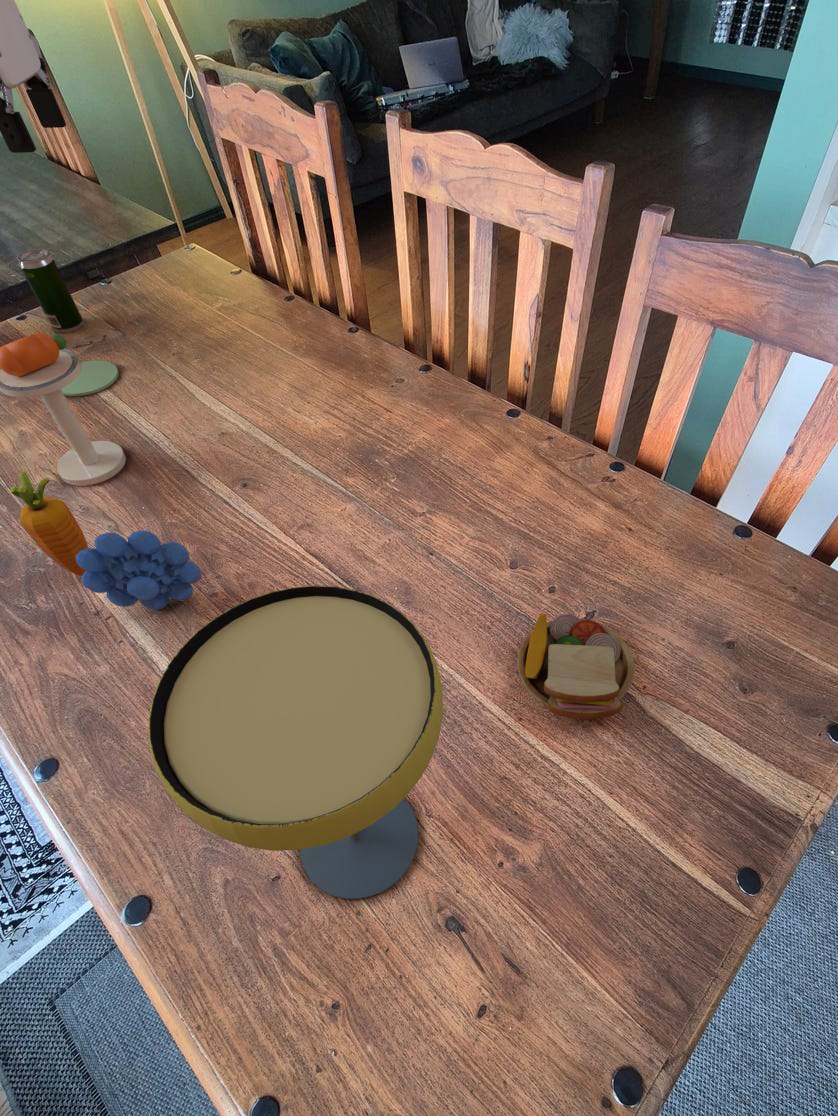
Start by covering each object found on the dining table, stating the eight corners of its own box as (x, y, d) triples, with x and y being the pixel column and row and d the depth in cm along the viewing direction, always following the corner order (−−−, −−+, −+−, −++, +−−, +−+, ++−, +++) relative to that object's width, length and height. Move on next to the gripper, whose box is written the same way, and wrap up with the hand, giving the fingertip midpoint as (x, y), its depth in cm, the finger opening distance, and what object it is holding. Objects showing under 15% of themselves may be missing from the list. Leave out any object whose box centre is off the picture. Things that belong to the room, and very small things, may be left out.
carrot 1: (14, 386, 81) (-1, 360, 78) (-1, 372, 82) (-17, 346, 79) (79, 358, 84) (66, 332, 81) (63, 345, 86) (51, 319, 82)
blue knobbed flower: (113, 648, 75) (57, 576, 65) (109, 606, 78) (56, 532, 69) (217, 617, 77) (178, 543, 68) (208, 578, 81) (170, 502, 71)
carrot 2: (76, 562, 83) (7, 464, 71) (115, 562, 83) (52, 464, 71) (60, 591, 80) (-16, 494, 68) (100, 592, 80) (31, 495, 68)
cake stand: (43, 468, 95) (-22, 370, 83) (107, 435, 99) (54, 338, 87) (77, 498, 90) (14, 399, 79) (142, 463, 95) (92, 365, 83)
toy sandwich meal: (637, 634, 75) (644, 607, 71) (626, 737, 67) (634, 712, 63) (528, 616, 76) (530, 588, 73) (504, 714, 68) (505, 689, 65)
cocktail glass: (240, 945, 55) (98, 833, 35) (279, 751, 66) (188, 583, 46) (456, 943, 55) (435, 830, 35) (459, 749, 66) (445, 580, 46)
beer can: (74, 334, 118) (37, 263, 108) (47, 332, 118) (8, 261, 109) (90, 320, 121) (56, 249, 111) (64, 317, 122) (27, 247, 112)
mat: (43, 381, 109) (41, 378, 108) (99, 356, 113) (98, 353, 113) (73, 403, 104) (71, 401, 104) (130, 377, 109) (128, 374, 108)
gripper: (-41, -60, 78) (39, 119, 92) (-123, -35, 68) (-20, 163, 81) (22, -62, 78) (92, 117, 92) (-51, -37, 67) (41, 161, 81)
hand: (39, 138), depth 86 cm, fingers open, 9 cm apart
